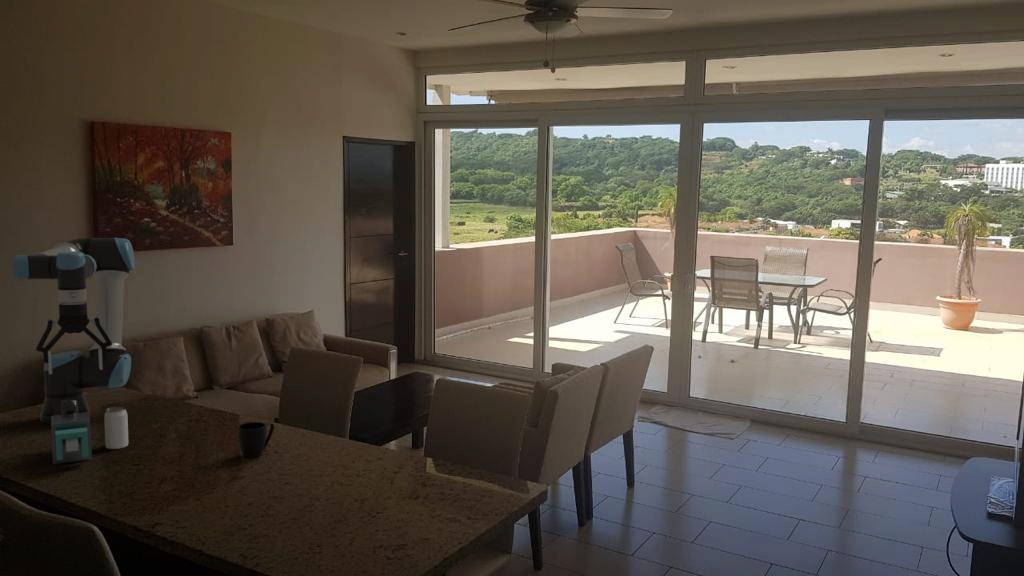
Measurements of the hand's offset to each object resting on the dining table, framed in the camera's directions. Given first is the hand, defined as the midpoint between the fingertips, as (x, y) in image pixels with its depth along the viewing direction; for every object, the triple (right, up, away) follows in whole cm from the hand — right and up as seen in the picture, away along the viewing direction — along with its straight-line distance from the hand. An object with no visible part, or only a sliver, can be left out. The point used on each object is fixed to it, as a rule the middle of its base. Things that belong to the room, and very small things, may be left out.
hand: (76, 371), depth 241 cm
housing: (+2, -25, -5) cm, 26 cm away
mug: (+56, -26, +1) cm, 61 cm away
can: (+10, -24, +5) cm, 27 cm away
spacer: (+6, -23, -14) cm, 28 cm away
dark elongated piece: (+2, -19, -7) cm, 21 cm away
